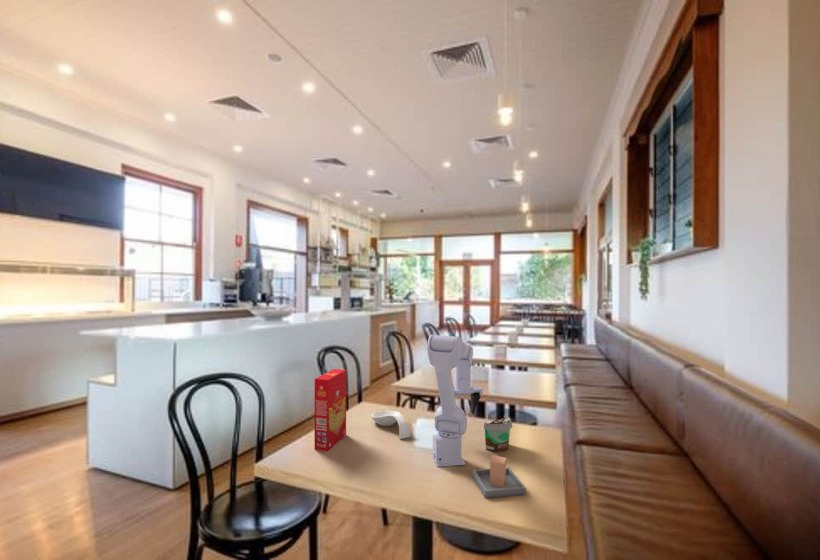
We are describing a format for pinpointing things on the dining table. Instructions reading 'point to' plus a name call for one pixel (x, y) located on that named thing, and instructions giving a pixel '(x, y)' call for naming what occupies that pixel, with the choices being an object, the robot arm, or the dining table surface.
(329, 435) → the food packaging
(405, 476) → the dining table surface
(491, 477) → the block
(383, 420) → the spoon rest
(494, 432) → the food container
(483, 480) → the tray
